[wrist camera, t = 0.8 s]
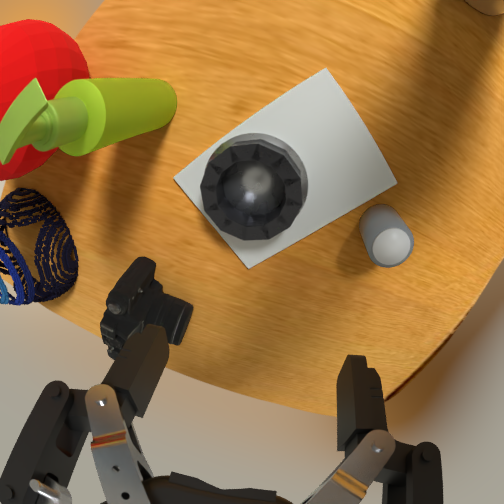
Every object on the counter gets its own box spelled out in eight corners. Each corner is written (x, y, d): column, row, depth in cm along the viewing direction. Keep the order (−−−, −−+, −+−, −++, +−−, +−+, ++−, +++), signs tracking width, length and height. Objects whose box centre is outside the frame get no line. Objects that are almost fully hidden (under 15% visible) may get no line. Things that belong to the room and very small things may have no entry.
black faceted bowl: (266, 111, 27) (262, 113, 24) (327, 198, 30) (331, 210, 27) (185, 173, 31) (173, 182, 28) (245, 247, 34) (240, 263, 32)
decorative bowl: (88, 302, 45) (44, 360, 33) (19, 276, 46) (-23, 318, 34) (69, 193, 35) (-4, 242, 23) (-3, 184, 36) (-60, 220, 24)
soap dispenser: (194, 105, 27) (56, 135, 10) (145, 139, 30) (5, 206, 13) (168, 63, 25) (17, 53, 8) (121, 99, 28) (-28, 134, 11)
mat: (325, 68, 24) (325, 67, 23) (396, 182, 28) (397, 183, 28) (174, 176, 32) (173, 177, 31) (249, 267, 36) (248, 268, 36)
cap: (389, 196, 29) (404, 215, 25) (406, 231, 31) (421, 254, 26) (351, 218, 31) (359, 240, 27) (370, 251, 33) (380, 276, 28)
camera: (182, 342, 46) (162, 391, 37) (124, 316, 45) (96, 359, 36) (204, 281, 39) (180, 334, 30) (133, 250, 38) (95, 294, 29)
